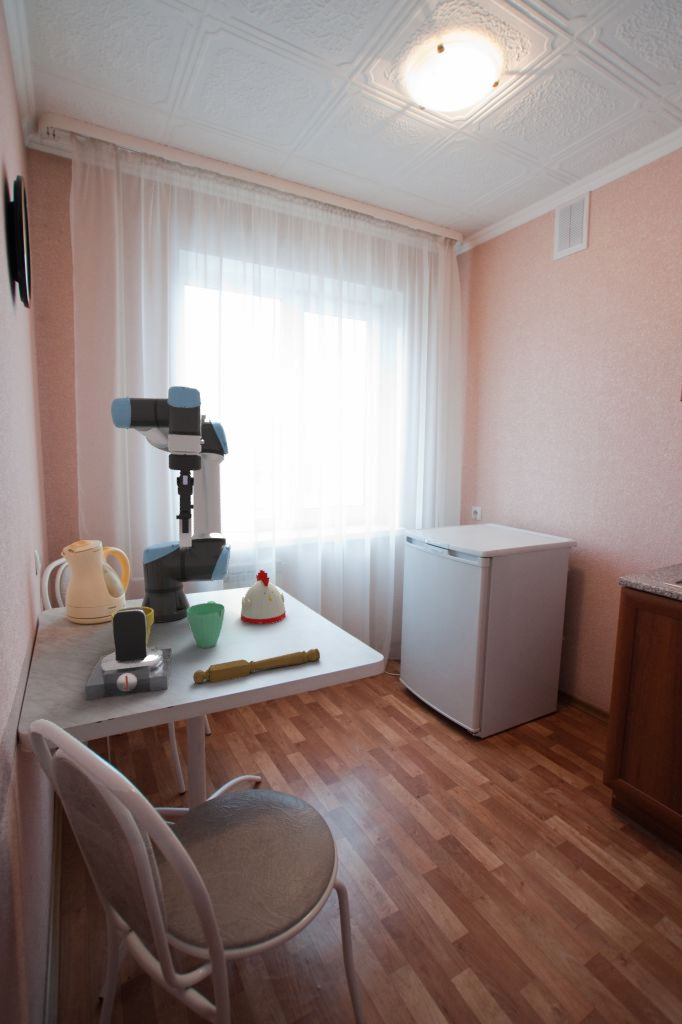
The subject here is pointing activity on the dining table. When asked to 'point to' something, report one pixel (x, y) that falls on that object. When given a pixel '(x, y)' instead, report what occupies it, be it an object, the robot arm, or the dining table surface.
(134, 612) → the battery charger
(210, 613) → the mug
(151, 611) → the plant pot
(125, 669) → the scale
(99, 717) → the dining table surface
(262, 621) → the kitchen timer
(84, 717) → the dining table surface
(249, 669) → the turned wooden baluster
